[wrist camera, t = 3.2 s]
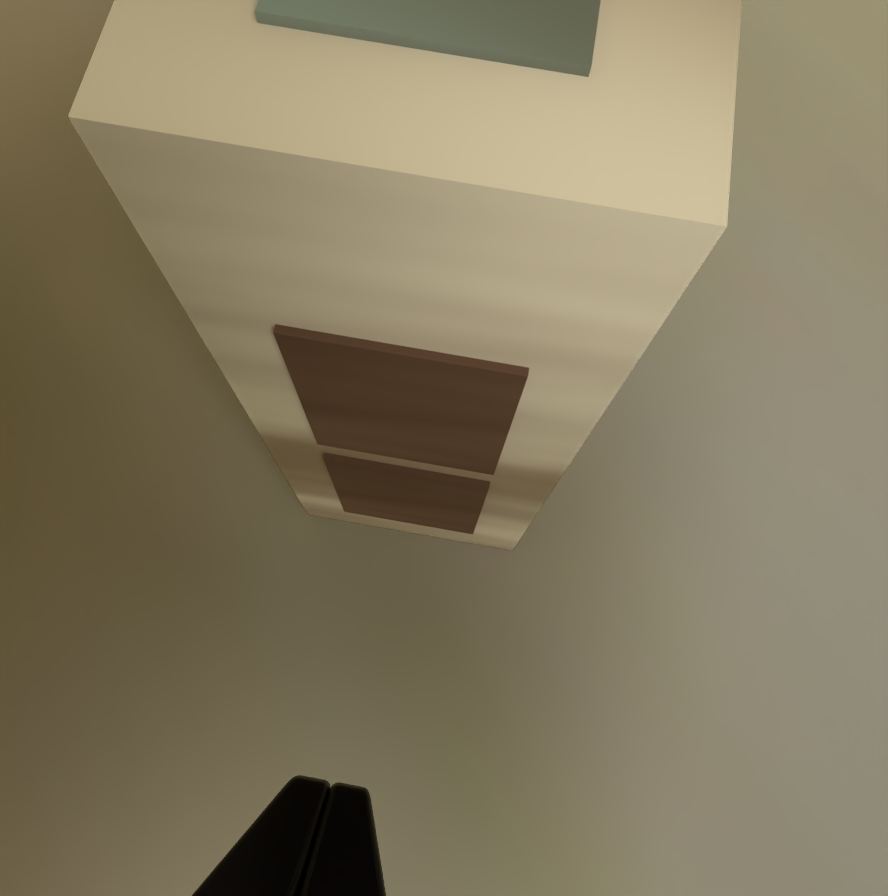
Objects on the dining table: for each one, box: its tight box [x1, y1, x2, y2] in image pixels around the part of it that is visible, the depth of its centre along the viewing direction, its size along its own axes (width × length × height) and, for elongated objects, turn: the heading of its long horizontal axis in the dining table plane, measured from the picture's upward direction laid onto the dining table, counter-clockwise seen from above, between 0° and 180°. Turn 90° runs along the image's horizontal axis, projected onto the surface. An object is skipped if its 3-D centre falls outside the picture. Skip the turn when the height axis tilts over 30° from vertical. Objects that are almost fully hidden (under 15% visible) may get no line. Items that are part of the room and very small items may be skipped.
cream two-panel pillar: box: [68, 0, 742, 551], centre depth 11 cm, size 5×4×12 cm
